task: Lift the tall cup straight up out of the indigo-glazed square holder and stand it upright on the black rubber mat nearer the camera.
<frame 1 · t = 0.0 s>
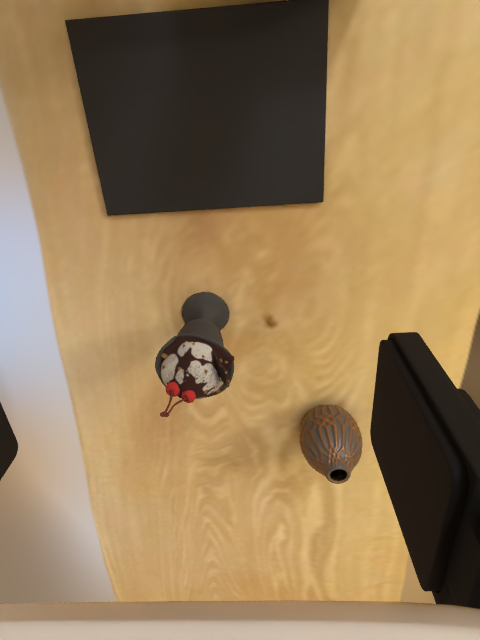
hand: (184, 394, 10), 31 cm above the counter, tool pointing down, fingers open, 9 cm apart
sundae: (205, 312, 44), on the counter
mat: (205, 118, 35), on the counter
vase: (325, 416, 51), on the counter
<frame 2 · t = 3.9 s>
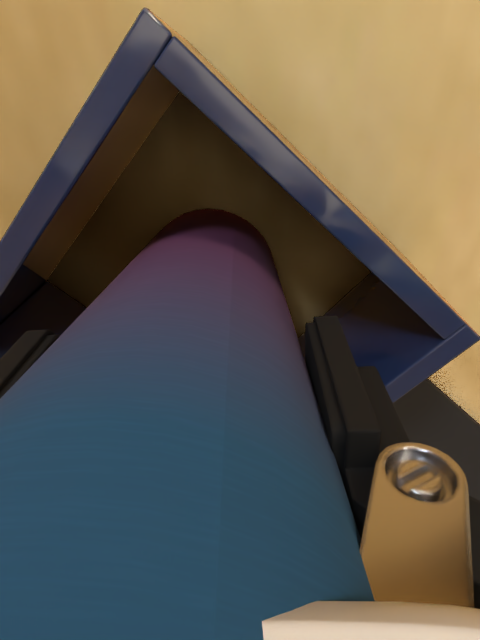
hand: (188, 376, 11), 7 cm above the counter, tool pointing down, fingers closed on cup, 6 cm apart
cup: (211, 269, 17), resting in holder, touching gripper
mat: (318, 515, 24), on the counter
holder: (211, 270, 17), on the counter
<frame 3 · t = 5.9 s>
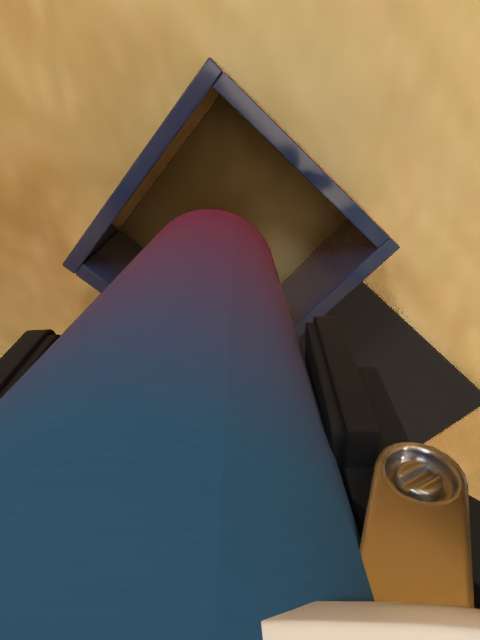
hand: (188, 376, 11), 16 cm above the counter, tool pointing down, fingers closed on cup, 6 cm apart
cup: (211, 269, 17), point 8 cm above the counter, touching gripper
mat: (309, 420, 31), on the counter
holder: (233, 221, 24), on the counter
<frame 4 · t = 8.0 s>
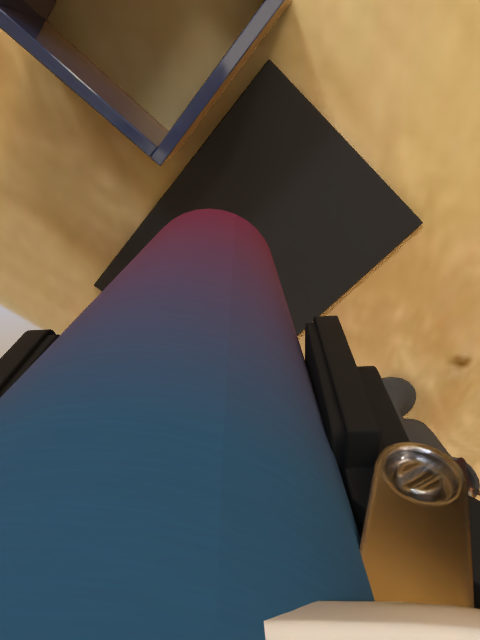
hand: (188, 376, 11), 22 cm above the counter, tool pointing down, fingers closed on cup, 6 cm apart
cup: (211, 269, 17), point 14 cm above the counter, touching gripper
sundae: (386, 398, 38), on the counter
mat: (250, 253, 32), on the counter
holder: (159, 11, 25), on the counter
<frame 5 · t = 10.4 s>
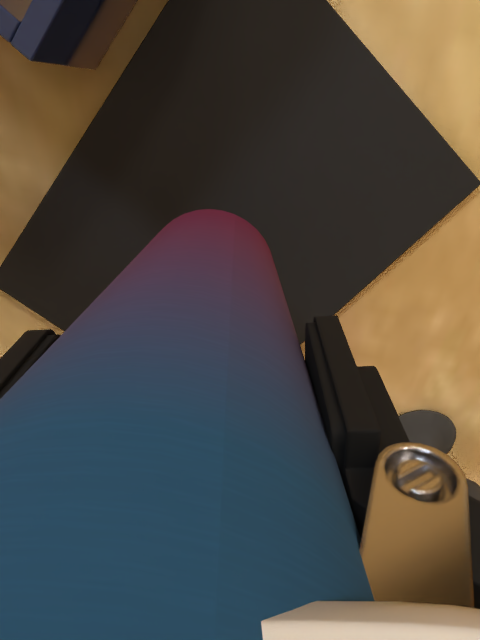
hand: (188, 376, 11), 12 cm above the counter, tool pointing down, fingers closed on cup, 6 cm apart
cup: (211, 269, 17), point 5 cm above the counter, touching gripper
sundae: (415, 436, 28), on the counter
mat: (218, 234, 21), on the counter
when the fingers open (7 cm above the counter, at t = 12.0 s): cup stays where it is, resting on mat.
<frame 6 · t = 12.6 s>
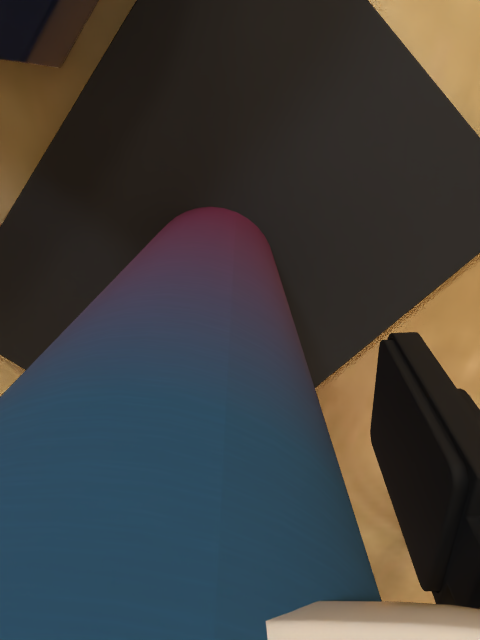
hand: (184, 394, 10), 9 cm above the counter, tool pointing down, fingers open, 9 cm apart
cup: (213, 265, 17), resting on mat
mat: (214, 265, 18), on the counter
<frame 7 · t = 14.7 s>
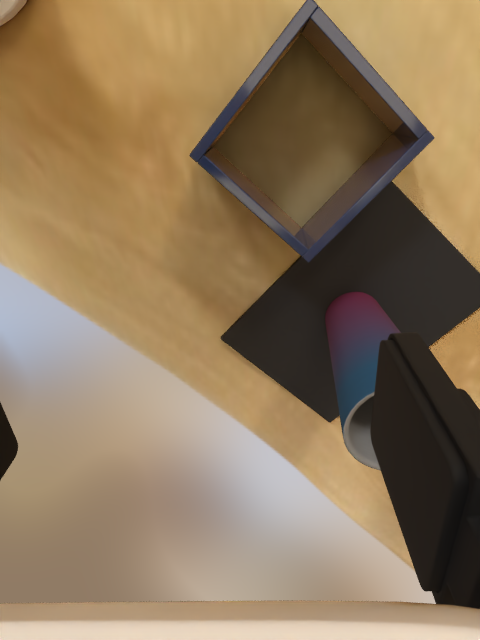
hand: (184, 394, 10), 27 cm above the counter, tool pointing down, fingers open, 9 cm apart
cup: (352, 315, 38), resting on mat
mat: (352, 315, 39), on the counter
holder: (301, 139, 32), on the counter
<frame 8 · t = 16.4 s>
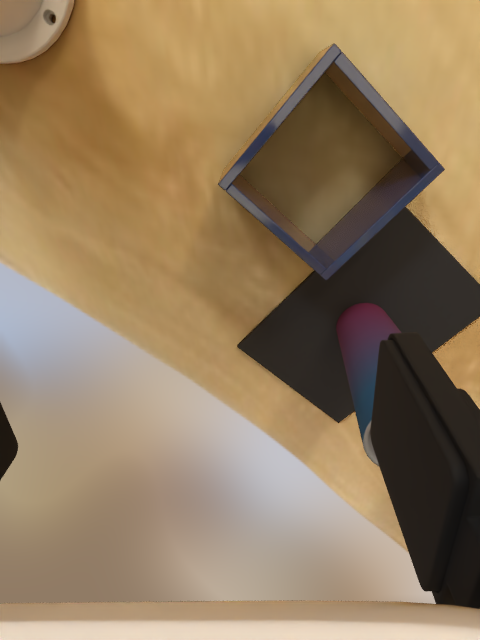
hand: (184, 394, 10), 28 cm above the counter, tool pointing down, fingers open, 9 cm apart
cup: (361, 324, 41), resting on mat
mat: (361, 324, 41), on the counter
holder: (317, 164, 34), on the counter
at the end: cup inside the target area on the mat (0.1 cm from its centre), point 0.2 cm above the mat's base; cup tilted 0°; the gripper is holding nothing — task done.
